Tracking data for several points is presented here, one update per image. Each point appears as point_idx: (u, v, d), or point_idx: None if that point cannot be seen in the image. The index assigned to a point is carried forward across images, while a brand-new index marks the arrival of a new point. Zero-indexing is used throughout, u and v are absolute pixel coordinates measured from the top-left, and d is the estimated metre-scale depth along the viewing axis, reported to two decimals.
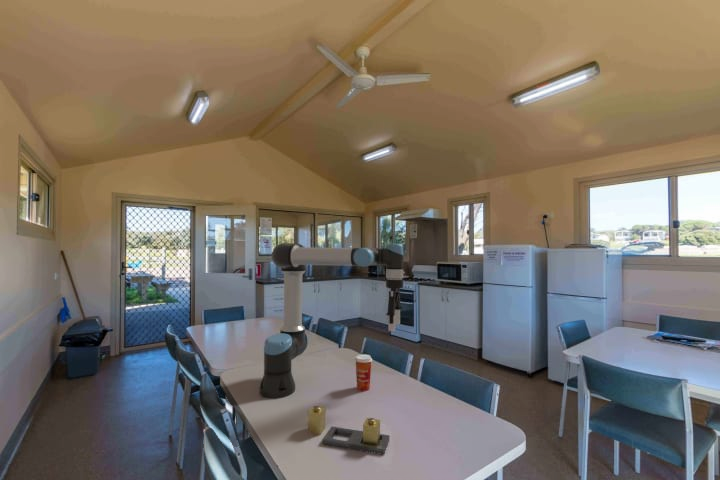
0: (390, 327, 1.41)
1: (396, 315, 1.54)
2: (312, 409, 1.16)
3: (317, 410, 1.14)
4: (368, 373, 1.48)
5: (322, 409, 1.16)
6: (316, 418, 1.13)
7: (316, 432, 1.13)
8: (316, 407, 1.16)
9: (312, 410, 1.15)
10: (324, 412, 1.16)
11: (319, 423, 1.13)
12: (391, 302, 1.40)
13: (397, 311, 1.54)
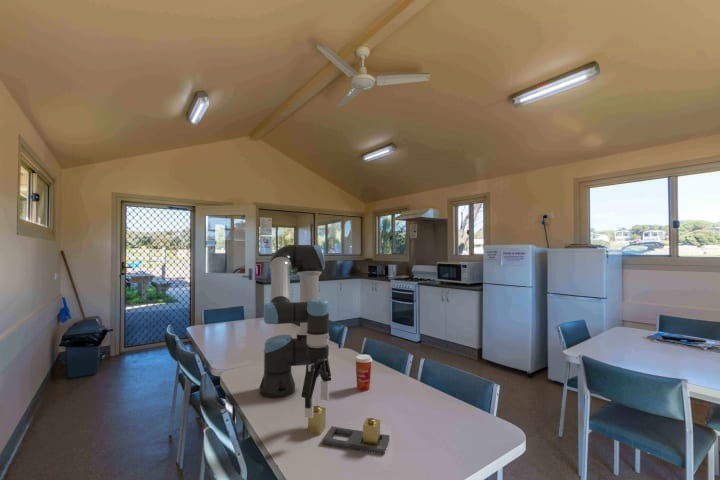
0: (307, 412, 1.08)
1: (323, 388, 1.22)
2: None
3: (317, 410, 1.14)
4: (368, 373, 1.48)
5: (322, 409, 1.16)
6: (316, 418, 1.13)
7: (316, 432, 1.13)
8: (316, 407, 1.16)
9: None
10: (324, 412, 1.16)
11: (319, 423, 1.13)
12: (307, 380, 1.08)
13: (325, 383, 1.22)
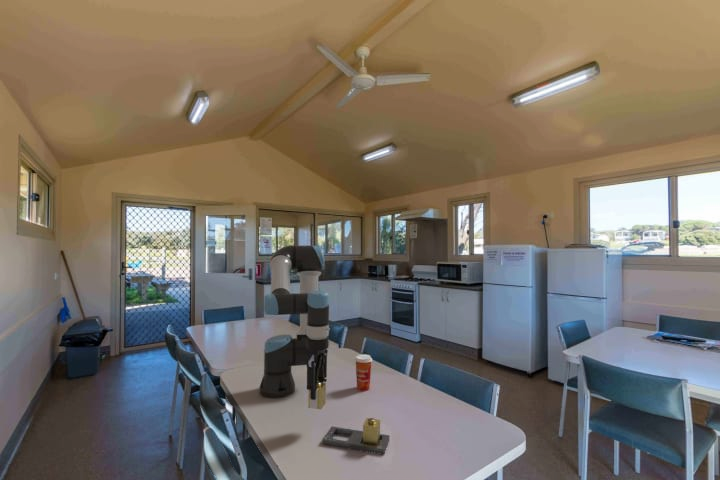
0: (312, 403, 1.13)
1: None
2: None
3: (317, 385, 1.15)
4: (368, 373, 1.48)
5: (322, 384, 1.17)
6: None
7: None
8: None
9: None
10: (324, 387, 1.17)
11: (319, 398, 1.13)
12: (310, 375, 1.10)
13: None
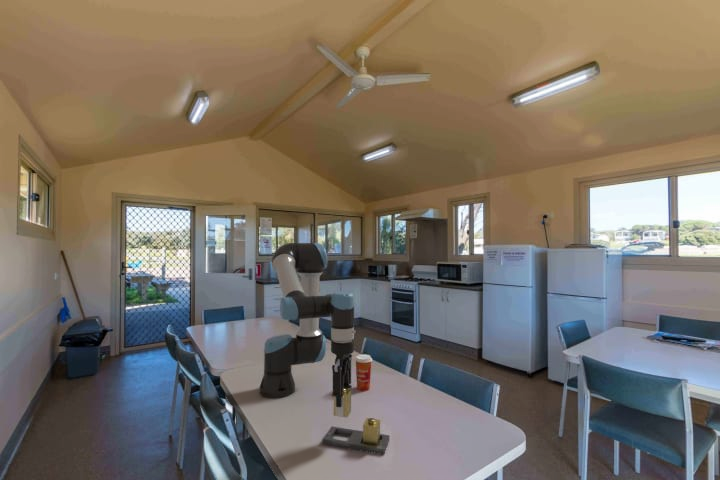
0: (337, 411, 1.07)
1: None
2: None
3: (343, 391, 1.09)
4: (368, 373, 1.48)
5: (348, 391, 1.10)
6: None
7: None
8: None
9: None
10: (350, 394, 1.11)
11: (345, 405, 1.07)
12: (336, 380, 1.04)
13: None
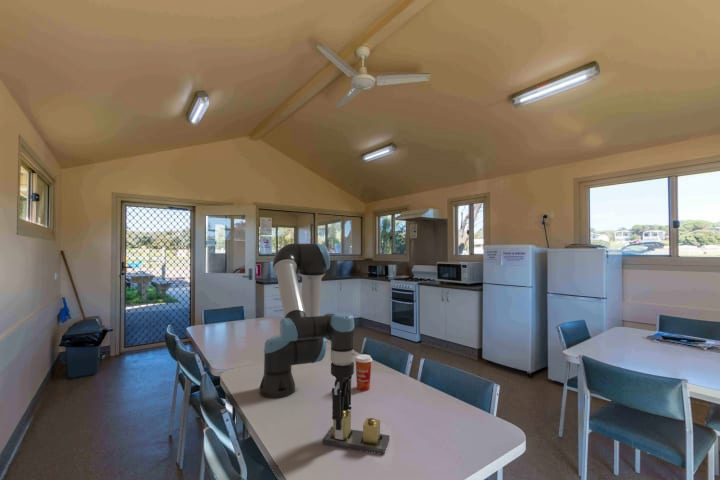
0: (337, 434, 1.07)
1: None
2: None
3: None
4: (368, 373, 1.48)
5: (347, 413, 1.10)
6: None
7: None
8: None
9: None
10: (349, 416, 1.11)
11: (345, 428, 1.07)
12: (336, 404, 1.04)
13: None
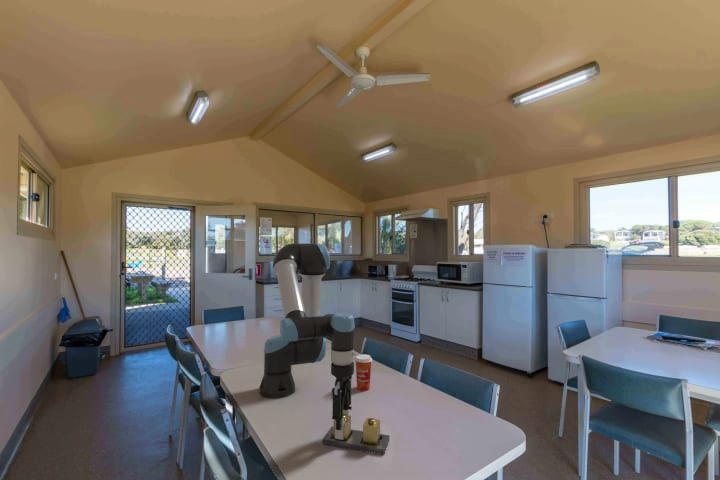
0: (337, 434, 1.07)
1: None
2: None
3: None
4: (368, 373, 1.48)
5: (348, 417, 1.10)
6: None
7: None
8: None
9: None
10: (350, 420, 1.11)
11: (345, 432, 1.07)
12: (336, 404, 1.04)
13: (345, 413, 1.12)
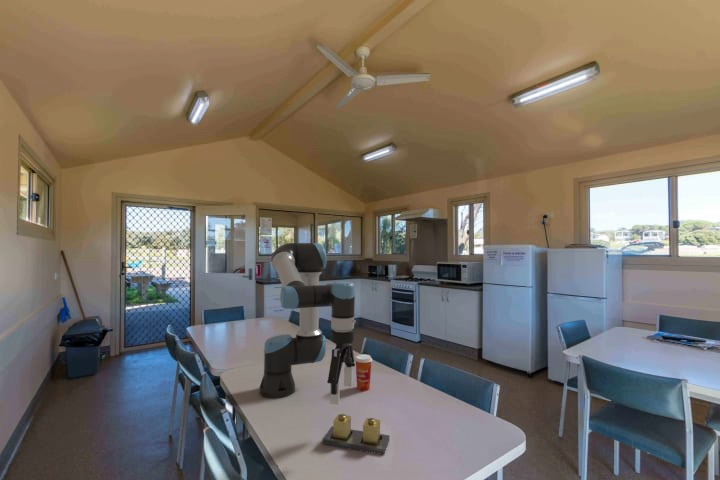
0: (333, 399, 1.04)
1: (347, 374, 1.17)
2: (337, 418, 1.10)
3: (343, 419, 1.09)
4: (368, 373, 1.48)
5: (348, 417, 1.10)
6: (341, 428, 1.08)
7: None
8: (341, 415, 1.10)
9: (337, 419, 1.09)
10: (350, 421, 1.10)
11: (345, 433, 1.07)
12: (334, 365, 1.03)
13: (348, 369, 1.17)
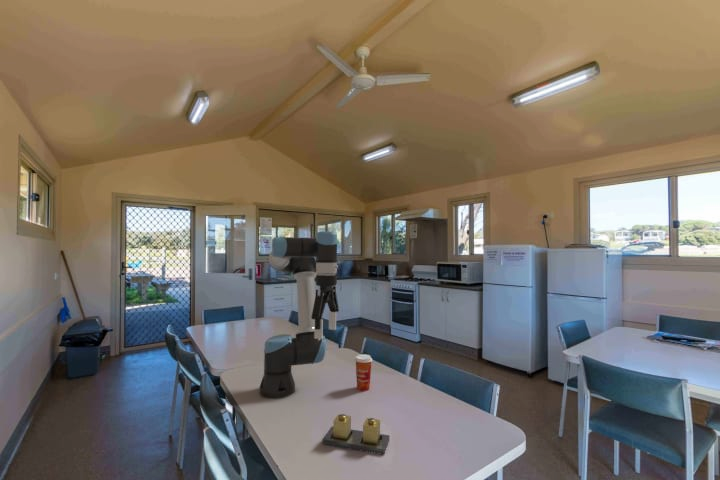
0: (316, 334, 1.14)
1: (331, 319, 1.27)
2: (337, 418, 1.10)
3: (343, 419, 1.09)
4: (368, 373, 1.48)
5: (347, 417, 1.10)
6: (341, 428, 1.08)
7: None
8: (341, 415, 1.10)
9: (337, 419, 1.09)
10: (350, 421, 1.10)
11: (345, 432, 1.07)
12: (317, 303, 1.13)
13: (332, 314, 1.27)
